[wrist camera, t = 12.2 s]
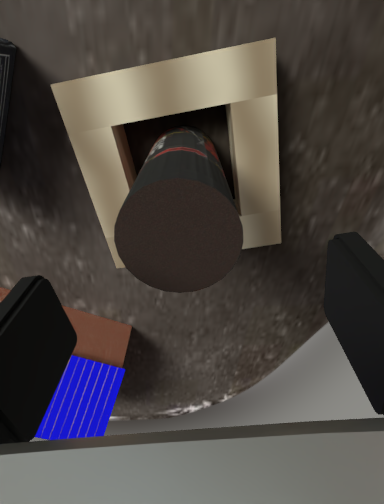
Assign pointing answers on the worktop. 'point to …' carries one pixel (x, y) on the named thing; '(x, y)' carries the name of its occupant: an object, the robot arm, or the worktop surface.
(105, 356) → the house
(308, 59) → the worktop surface
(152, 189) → the deodorant
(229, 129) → the holder
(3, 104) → the small box
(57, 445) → the robot arm
